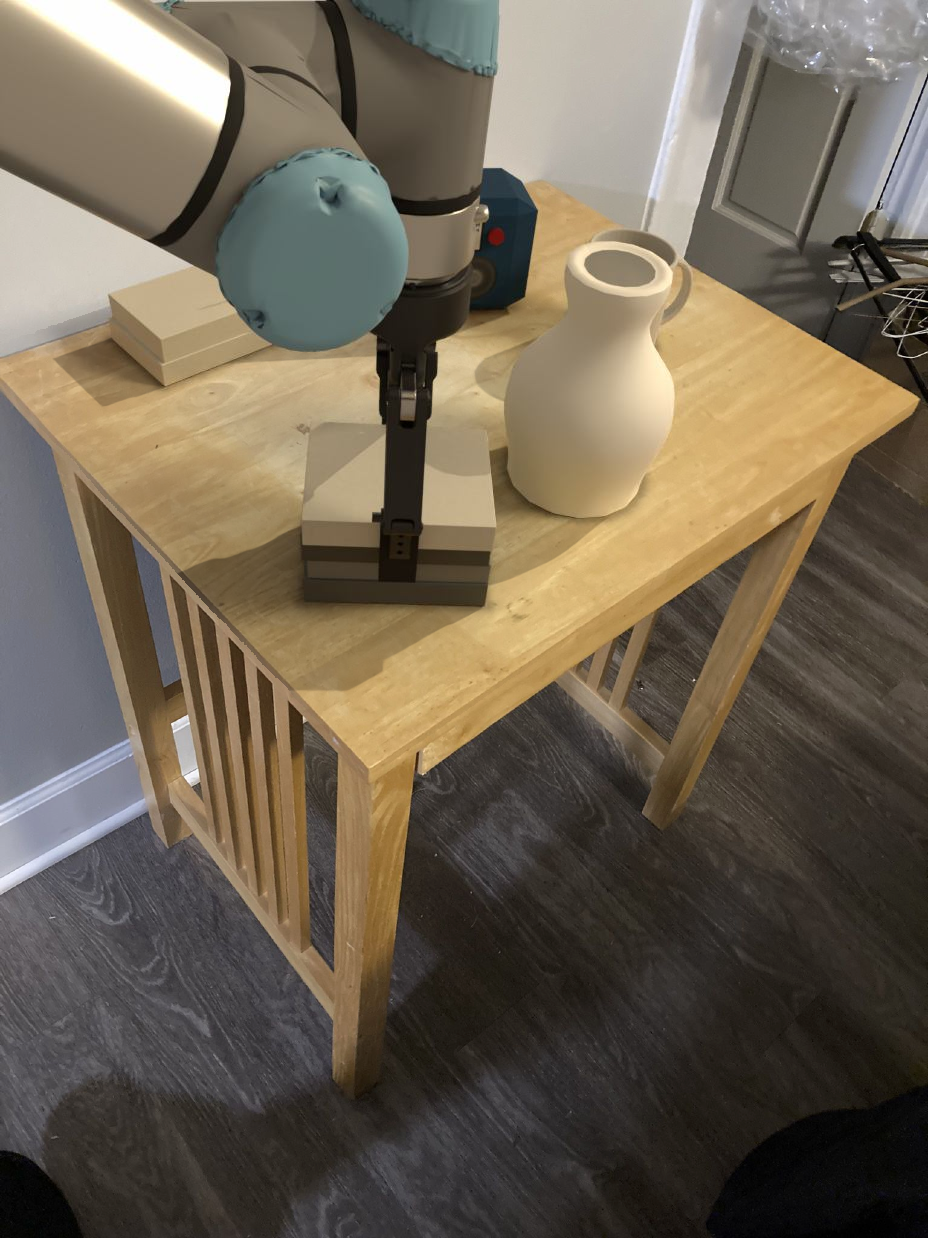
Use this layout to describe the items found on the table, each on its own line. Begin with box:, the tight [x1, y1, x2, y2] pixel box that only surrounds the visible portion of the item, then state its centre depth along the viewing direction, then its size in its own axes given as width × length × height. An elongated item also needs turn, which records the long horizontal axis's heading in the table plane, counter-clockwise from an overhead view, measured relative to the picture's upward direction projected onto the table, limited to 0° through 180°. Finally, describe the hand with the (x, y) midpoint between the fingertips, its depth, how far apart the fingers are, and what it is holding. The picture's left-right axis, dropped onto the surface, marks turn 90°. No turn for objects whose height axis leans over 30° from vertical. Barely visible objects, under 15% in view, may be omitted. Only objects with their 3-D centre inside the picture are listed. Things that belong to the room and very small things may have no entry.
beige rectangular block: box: [107, 265, 273, 387], centre depth 94 cm, size 14×10×5 cm
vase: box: [503, 241, 676, 519], centre depth 80 cm, size 14×14×20 cm
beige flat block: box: [300, 420, 497, 552], centre depth 72 cm, size 14×11×2 cm
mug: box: [588, 227, 694, 347], centre depth 99 cm, size 11×10×10 cm
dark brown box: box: [299, 523, 492, 607], centre depth 75 cm, size 14×9×7 cm, turn 93°
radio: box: [469, 167, 539, 312], centre depth 97 cm, size 21×9×20 cm, turn 103°
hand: (396, 523), depth 75 cm, fingers closed on beige flat block, 11 cm apart
